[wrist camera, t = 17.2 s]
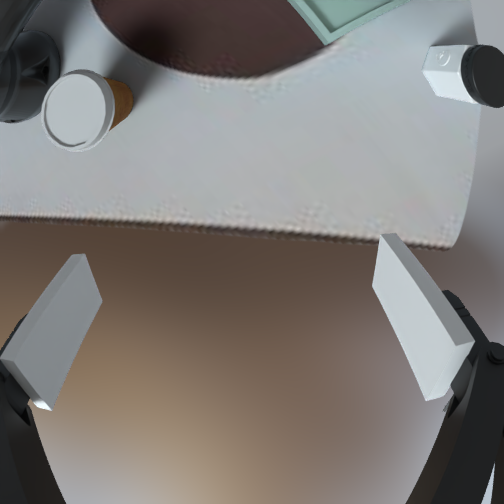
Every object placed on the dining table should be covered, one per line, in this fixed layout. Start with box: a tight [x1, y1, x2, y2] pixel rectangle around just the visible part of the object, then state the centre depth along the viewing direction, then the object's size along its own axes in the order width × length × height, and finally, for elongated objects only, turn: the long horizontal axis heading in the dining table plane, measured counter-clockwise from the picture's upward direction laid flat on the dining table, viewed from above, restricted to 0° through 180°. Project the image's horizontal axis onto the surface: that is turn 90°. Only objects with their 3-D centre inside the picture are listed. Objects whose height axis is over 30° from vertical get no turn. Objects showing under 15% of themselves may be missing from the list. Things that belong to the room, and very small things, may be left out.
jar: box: [422, 45, 504, 108], centre depth 29 cm, size 9×8×12 cm
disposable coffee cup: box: [41, 70, 133, 152], centre depth 32 cm, size 10×10×12 cm
